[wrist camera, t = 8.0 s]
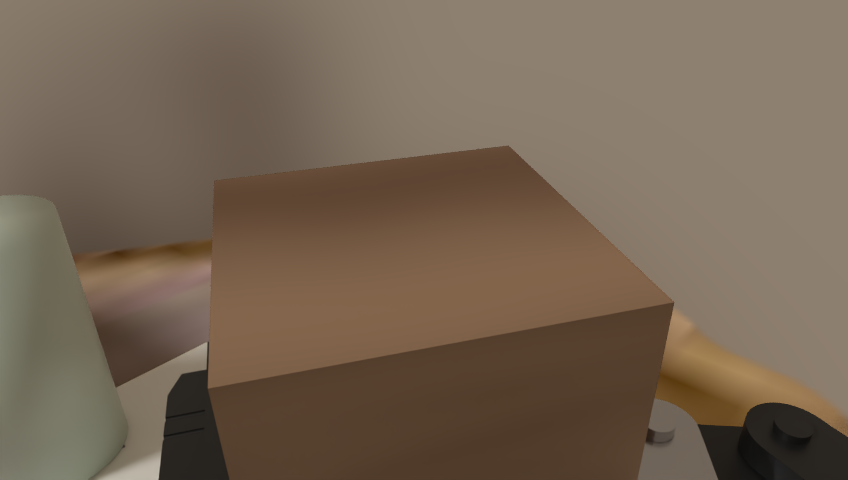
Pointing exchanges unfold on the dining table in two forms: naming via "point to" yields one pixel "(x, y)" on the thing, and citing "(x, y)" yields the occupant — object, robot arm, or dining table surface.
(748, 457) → the robot arm
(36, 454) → the sage cylinder
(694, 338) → the dining table surface
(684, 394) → the dining table surface
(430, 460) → the walnut block
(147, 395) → the board
